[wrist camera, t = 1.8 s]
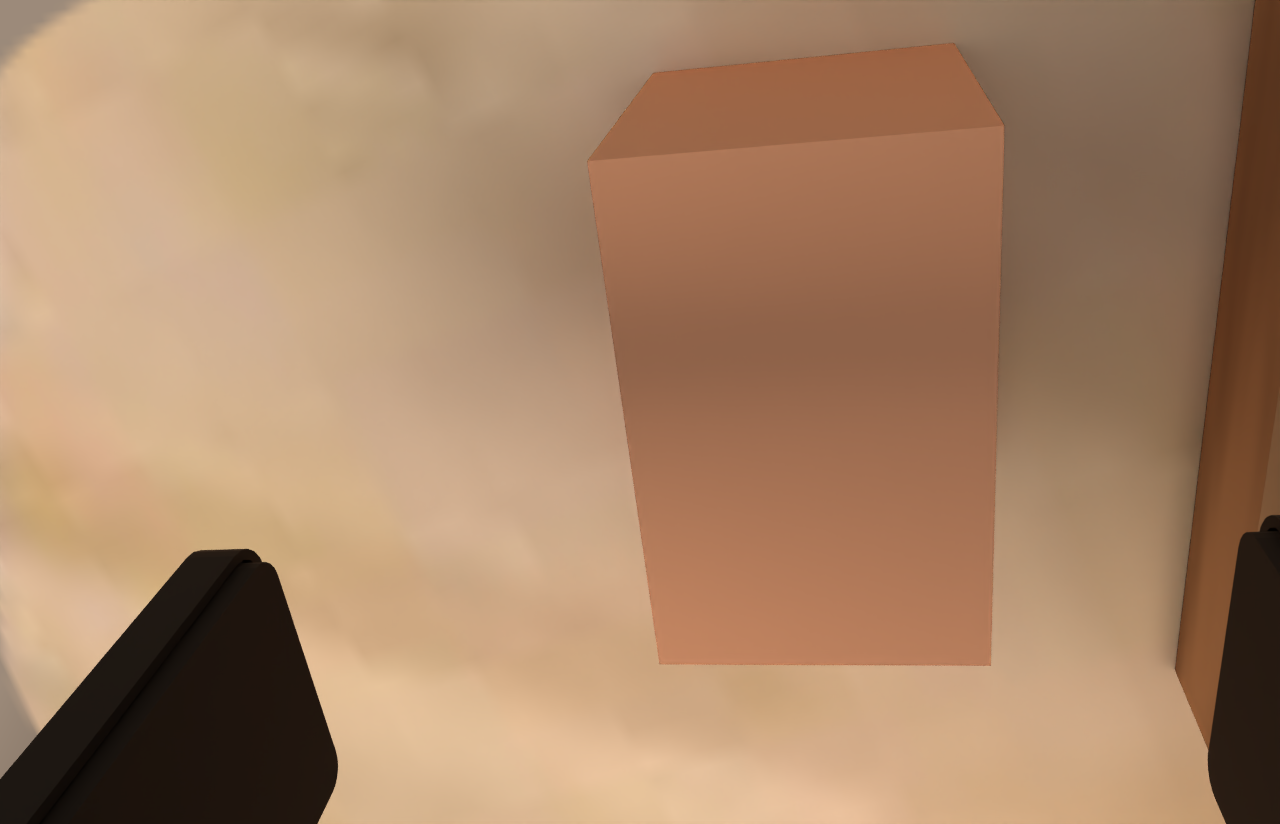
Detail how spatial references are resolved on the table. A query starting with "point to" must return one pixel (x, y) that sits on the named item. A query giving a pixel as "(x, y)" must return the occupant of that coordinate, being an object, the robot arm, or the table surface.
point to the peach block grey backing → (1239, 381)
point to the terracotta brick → (810, 354)
